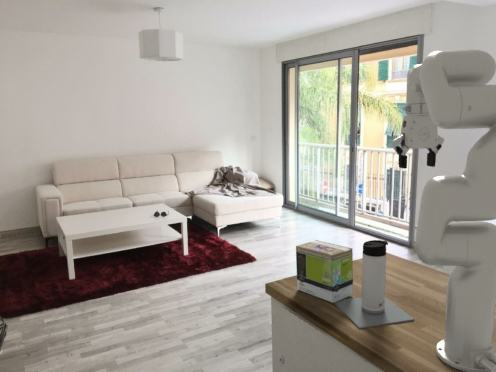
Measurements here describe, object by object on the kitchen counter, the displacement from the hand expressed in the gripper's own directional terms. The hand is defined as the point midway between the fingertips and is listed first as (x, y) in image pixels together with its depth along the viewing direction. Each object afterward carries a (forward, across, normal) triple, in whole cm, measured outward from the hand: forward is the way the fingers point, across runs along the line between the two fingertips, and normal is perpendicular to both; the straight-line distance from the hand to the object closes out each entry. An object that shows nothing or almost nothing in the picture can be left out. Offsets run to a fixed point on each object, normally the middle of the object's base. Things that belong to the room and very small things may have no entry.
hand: (416, 167), depth 127 cm
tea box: (+38, -29, +3) cm, 48 cm away
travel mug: (+38, -20, -12) cm, 45 cm away
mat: (+38, -21, -12) cm, 45 cm away
